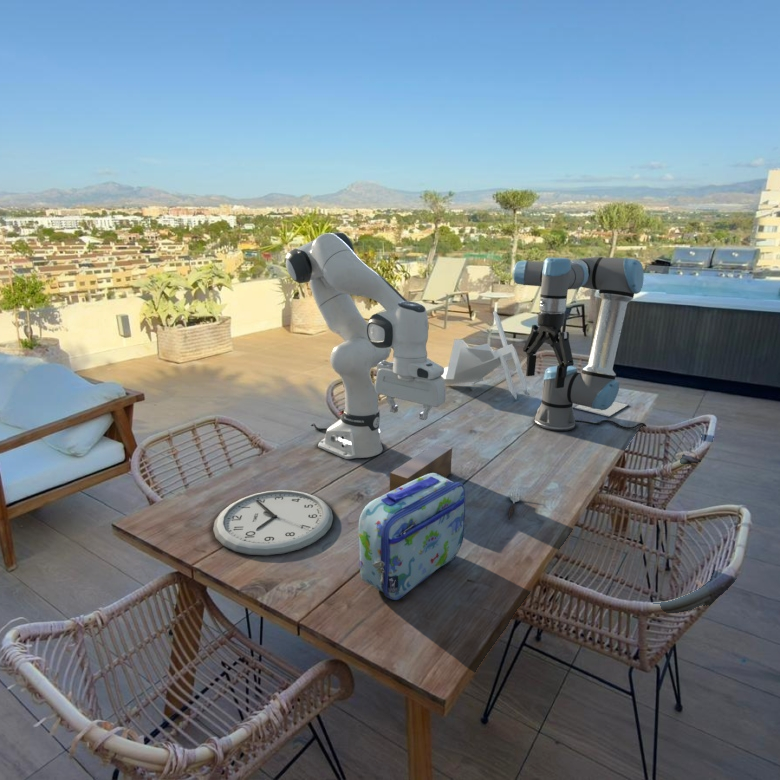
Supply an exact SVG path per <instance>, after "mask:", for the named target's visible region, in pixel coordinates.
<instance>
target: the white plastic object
mask: <svg viewBox="0 0 780 780" xmlns="http://www.w3.org/2000/svg"><path fill="white" fill-rule="evenodd" d="M492 315H493V319H494V321H495V324H496V325H495V326H496V328H497V332H498V335H499V338H500V342H501V345H502V347H500V348H498V349H496V350H495V349H493V348H492V347H491V346H490V344H489V343H488V342H487V343H483V344H479V345H473V346H469V345H468V343H466V342H465V340H464V339H463V338H460V339H458V338H454V340H453V344H452V349H451V353H450V357H449V362H448V366H446V367H443V368H444V374H443V375H441V376H442V377H443V379H444V381H445V386H449V385H458V384H467V383H468V384H469V383H473V384H477V383H480V382H482V381H484V378H485V377H486V376H487V375H489V374H490V373H492V372H494V371H495V370H496V369H497V368H499V367H500V366H502V370H503V373H504V376H505V380H506V383H507V386H508V390H509V393H510V394H511V395H512V397H513V398H514V399H515V400H517V392H516V391H517V390H516V388H515V385H514V381H513V378H512V375H511V371H510V369H509V365H508V361H510V360H513V363H514V366H515V369H516V372H517V376H518V380H519V382H520V385H521V389H522V391H523V393H524V395H525V396H526V397H528V396H531V395H530V390H529V388H528V387H529V386H528V384H527V381H526V378H525V375H524V371H523V369H522V368H523V367H522V366H521V362H520V359H519V355H518V352H517V349H516V347H515V346H514V345H513V343H511V344H508V341H507V337H506V334H505V331H504V328H503V325H502V321H501V318H500V315H499V314H498V312H497V311H496V310H495V311H492Z"/></svg>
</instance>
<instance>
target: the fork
mask: <svg viewBox="0 0 780 780" xmlns="http://www.w3.org/2000/svg"><path fill="white" fill-rule="evenodd" d="M516 491H517V492H516ZM521 492H522V489H520V491H519V490H517V488H515V489H514V487H512V490H511V494H510V501H511V502H512V504H511V505H510V507H509V513H508V521H510V520H511V518H512V516H513V514H514V512H515V503H517V502H520V500H521V494H522V493H521Z"/></svg>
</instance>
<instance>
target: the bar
mask: <svg viewBox="0 0 780 780" xmlns="http://www.w3.org/2000/svg"><path fill="white" fill-rule="evenodd" d="M452 456H453V447H450V446H447V445H443V444H439V443H434V444H432V445H431V446H429V447H428V448H427V449H424V450H423V451H422V452H420V453H418V454H417V455H415V456H414V457H412V458H411V459H409V460H407V461H406V462H404V463H403V464H401V465H400V466H398V467H397V468H395V469H393V470H392V471H390V472H389V492H390V491H392V490H394V489H396V488H399V487H401V486H403V485H405V484H407V483H409V482H411V481H413V480H415V479H417V478H420V477H422V476H424V475H427V474H430V473H436V474H438V475H440V476H442V477H444V478H447V477H448V476H449V475H450V474H452V460H453V459H452V458H453V457H452Z"/></svg>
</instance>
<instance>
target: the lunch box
mask: <svg viewBox="0 0 780 780" xmlns="http://www.w3.org/2000/svg"><path fill="white" fill-rule="evenodd" d="M465 490H466V489H465V486H464V484H463V483H462V482H458V481H455V482H454V481H452V480H450V479H449V478H447V477H445V478H444V477H442V476H440V475H438V474H436V473H430V474H427V475H424V476H422V477H420V478H417V479H415V480H413V481H411V482H409V483H407V484H405V485H403V486H401V487H399V488H396V489H394V490H392V491H390V490H389V491H388V492H387V493H384V494H383V495H380V496H379V497H376V498H375V499H373V500H370V501H369V502H368V503H367V504H366V505H365V507H364V508H363V509H362V511H361V513H360V516H359V519H358V548H359V549H358V550H359V551H358V552H359V553H358V554H359V555H358V556H359V573H360V578H361V580H362V581H363V582H364V583H366V584H368V585H370V586H372V587H374V588H376V589H377V590H378V591H379V592H382V593H383V594H384V596H385V597H386V598H388V599H390V600H392V601H398V600H400V599H402V598H403V597H404V596H405V595H407V594H408V593H409V592H410V591H412V590H413V589H415V588H416V587H417V586H419V584H421V583H422V582H423V581H425V580H427V579H428V577H430V576H431V575H433V573H435V571H436V570H438V569H440V568H441V567H443V566H445V565H446V564H448V563H449V562H451V561H452V560H453V559H454V558H455V557H456V556H457V554H459V551H460V549H461V547H462V545H463V541H464V538H465V537H464V536H465V524H466V523H465V521H466V520H465V519H466V491H465Z"/></svg>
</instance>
